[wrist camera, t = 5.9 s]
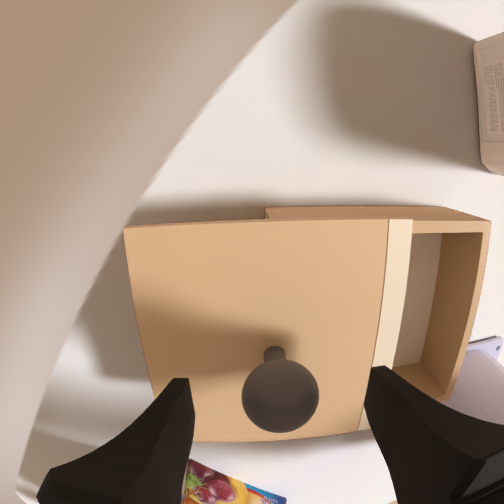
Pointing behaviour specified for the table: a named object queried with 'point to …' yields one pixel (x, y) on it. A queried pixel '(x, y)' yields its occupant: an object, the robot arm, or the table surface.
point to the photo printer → (491, 100)
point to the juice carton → (220, 488)
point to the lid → (270, 318)
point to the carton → (429, 288)
